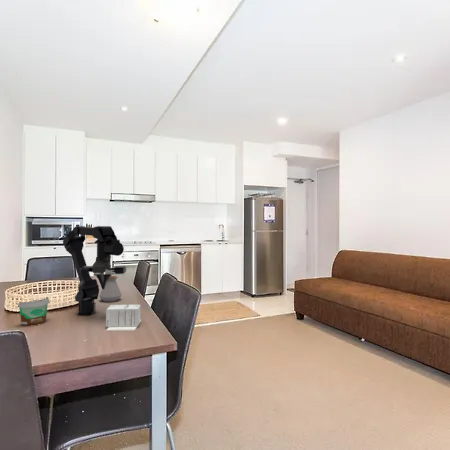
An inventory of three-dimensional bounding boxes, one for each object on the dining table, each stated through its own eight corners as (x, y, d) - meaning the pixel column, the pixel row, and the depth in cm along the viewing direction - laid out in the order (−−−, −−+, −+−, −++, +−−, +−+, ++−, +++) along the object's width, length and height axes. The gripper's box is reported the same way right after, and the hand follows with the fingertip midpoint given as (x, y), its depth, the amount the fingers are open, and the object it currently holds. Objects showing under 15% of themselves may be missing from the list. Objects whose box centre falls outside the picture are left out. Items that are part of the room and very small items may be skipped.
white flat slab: (106, 331, 127) (106, 329, 127) (115, 321, 140) (115, 319, 140) (134, 330, 128) (134, 329, 128) (141, 320, 141) (141, 319, 141)
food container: (25, 329, 128) (25, 304, 128) (17, 326, 132) (17, 301, 131) (55, 321, 139) (55, 298, 139) (47, 318, 142) (47, 296, 142)
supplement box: (110, 304, 137) (140, 304, 139) (109, 321, 137) (140, 321, 138) (106, 308, 130) (138, 308, 131) (105, 327, 130) (137, 326, 131)
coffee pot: (121, 302, 173) (122, 274, 173) (98, 303, 169) (99, 275, 169) (120, 293, 193) (120, 268, 193) (100, 295, 189) (100, 269, 189)
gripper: (75, 256, 135) (74, 293, 135) (120, 256, 136) (120, 293, 136) (84, 253, 146) (84, 287, 146) (126, 253, 147) (126, 287, 148)
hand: (103, 289), depth 144 cm, fingers closed
